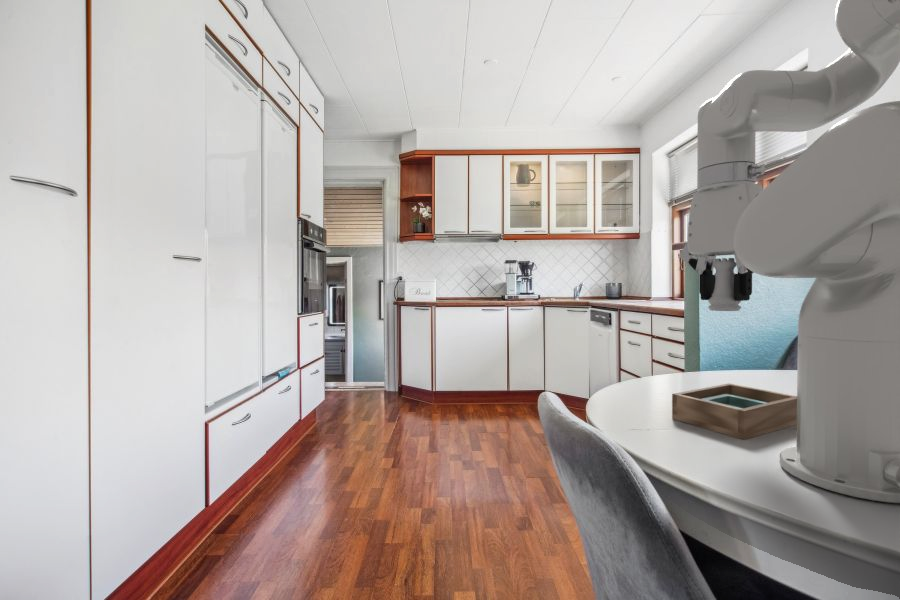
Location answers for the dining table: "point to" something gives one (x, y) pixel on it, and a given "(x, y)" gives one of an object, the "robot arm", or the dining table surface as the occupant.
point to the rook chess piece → (724, 286)
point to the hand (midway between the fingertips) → (724, 298)
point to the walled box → (735, 410)
